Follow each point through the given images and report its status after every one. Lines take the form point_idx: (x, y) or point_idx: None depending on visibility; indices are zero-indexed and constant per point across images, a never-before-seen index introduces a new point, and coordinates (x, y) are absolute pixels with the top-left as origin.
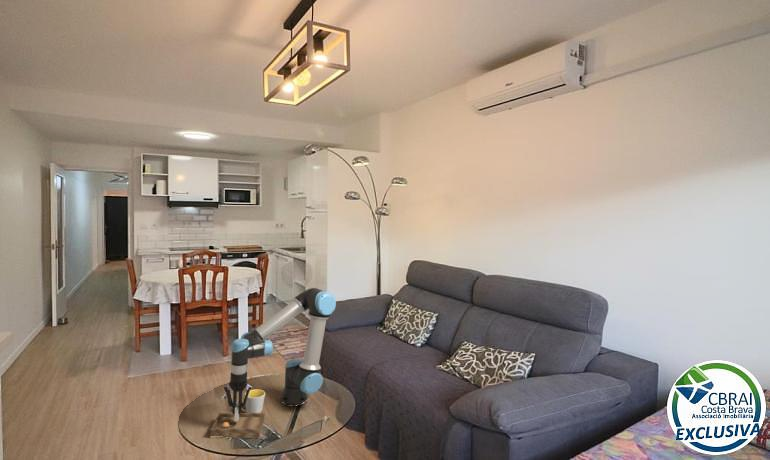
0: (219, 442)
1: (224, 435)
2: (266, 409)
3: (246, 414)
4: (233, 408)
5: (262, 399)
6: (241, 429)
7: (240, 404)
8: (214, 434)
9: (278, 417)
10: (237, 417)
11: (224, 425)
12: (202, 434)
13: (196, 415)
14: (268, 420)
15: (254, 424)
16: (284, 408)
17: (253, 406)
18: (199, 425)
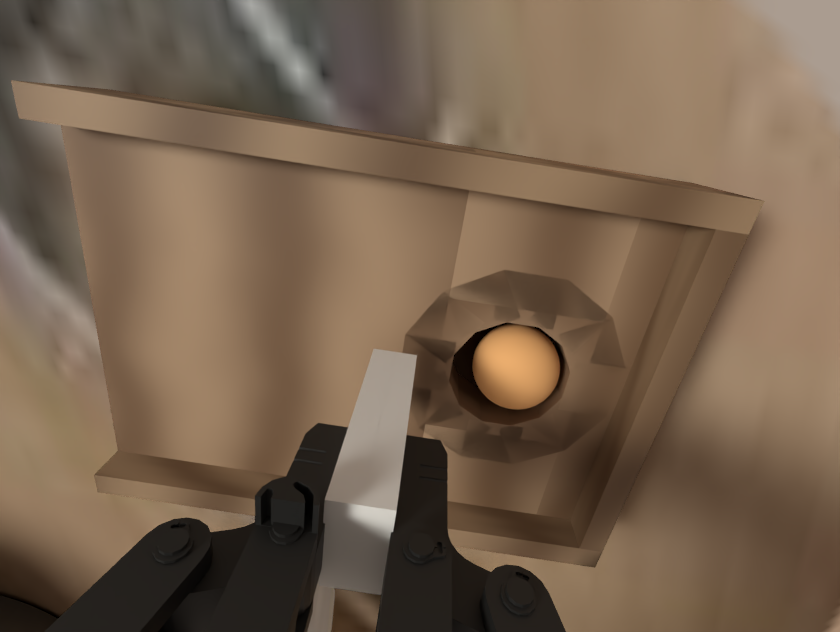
0: (584, 53)
1: (529, 159)
2: None
3: None
4: (432, 520)
5: None
6: (289, 128)
7: (242, 579)
8: (662, 181)
9: (41, 463)
10: (367, 380)
11: (536, 347)
12: (761, 285)
13: (754, 600)
14: None
15: (180, 316)
16: (43, 576)
17: None
18: (759, 456)
